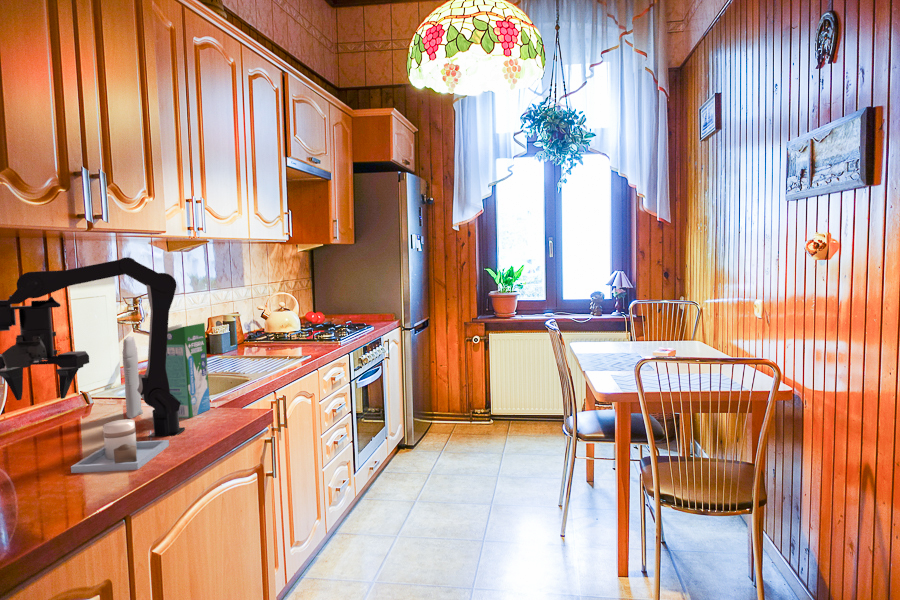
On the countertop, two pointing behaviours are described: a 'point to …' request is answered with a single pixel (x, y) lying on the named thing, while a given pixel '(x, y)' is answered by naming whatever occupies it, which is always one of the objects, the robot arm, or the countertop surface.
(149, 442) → the tray
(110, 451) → the cream lidded jar
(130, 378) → the tall pale column
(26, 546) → the countertop surface
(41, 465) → the countertop surface
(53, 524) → the countertop surface
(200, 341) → the milk carton
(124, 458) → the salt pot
